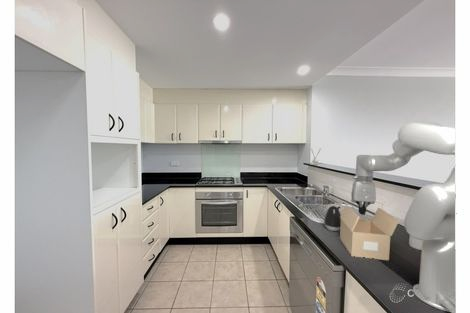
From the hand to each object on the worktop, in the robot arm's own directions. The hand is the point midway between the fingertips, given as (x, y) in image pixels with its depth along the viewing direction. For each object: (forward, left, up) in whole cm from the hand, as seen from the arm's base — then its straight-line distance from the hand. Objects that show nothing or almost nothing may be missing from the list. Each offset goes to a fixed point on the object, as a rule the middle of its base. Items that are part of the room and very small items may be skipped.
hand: (362, 213), depth 109 cm
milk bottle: (+8, -31, -18) cm, 37 cm away
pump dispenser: (+22, +8, -18) cm, 30 cm away
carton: (0, -1, -18) cm, 18 cm away
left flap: (0, +6, -2) cm, 6 cm away
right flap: (0, -10, -2) cm, 10 cm away
